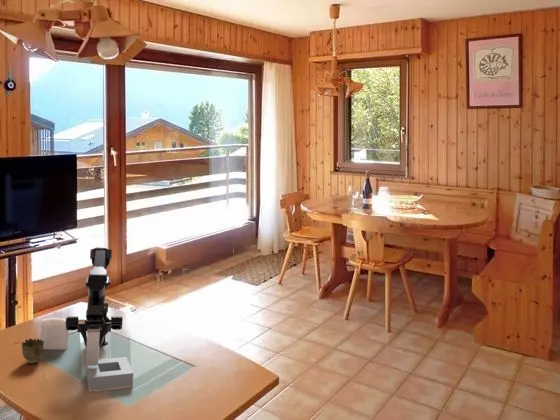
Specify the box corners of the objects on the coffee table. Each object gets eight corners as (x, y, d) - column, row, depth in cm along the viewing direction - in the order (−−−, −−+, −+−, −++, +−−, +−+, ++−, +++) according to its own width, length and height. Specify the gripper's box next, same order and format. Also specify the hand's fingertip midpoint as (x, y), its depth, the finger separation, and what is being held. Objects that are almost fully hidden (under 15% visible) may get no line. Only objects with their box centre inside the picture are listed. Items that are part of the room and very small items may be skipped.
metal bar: (86, 360, 184) (87, 324, 182) (98, 360, 185) (100, 324, 183) (85, 365, 180) (87, 329, 178) (98, 365, 181) (99, 329, 180)
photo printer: (68, 346, 211) (69, 316, 210) (66, 350, 207) (67, 320, 206) (40, 346, 209) (41, 316, 207) (38, 350, 205) (39, 319, 203)
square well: (85, 374, 189) (85, 360, 188) (125, 369, 195) (126, 356, 194) (89, 391, 176) (90, 377, 176) (132, 386, 182) (133, 373, 182)
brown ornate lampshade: (34, 368, 190) (35, 347, 189) (16, 365, 191) (17, 343, 190) (47, 360, 197) (48, 339, 196) (30, 357, 198) (30, 336, 197)
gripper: (67, 294, 181) (62, 337, 172) (123, 294, 186) (122, 336, 177) (68, 308, 189) (64, 350, 180) (122, 308, 195) (121, 349, 185)
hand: (92, 346), depth 180 cm, fingers closed on metal bar, 4 cm apart
